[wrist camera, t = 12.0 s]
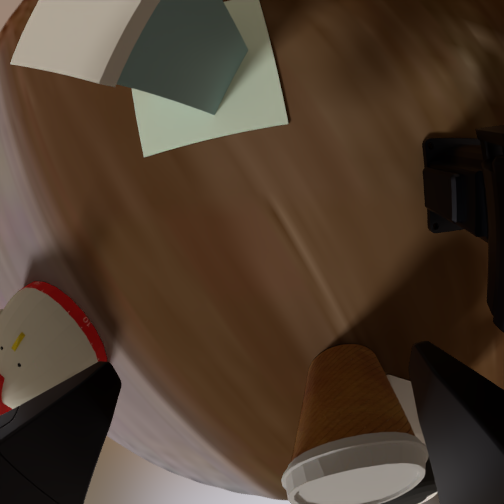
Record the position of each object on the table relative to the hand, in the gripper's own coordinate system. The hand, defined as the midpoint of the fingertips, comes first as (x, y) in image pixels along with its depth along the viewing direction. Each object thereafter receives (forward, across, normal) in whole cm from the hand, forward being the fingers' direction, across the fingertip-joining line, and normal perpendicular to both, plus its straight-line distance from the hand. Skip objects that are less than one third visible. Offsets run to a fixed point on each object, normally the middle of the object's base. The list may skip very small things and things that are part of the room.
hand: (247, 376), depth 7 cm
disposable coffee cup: (+13, -4, +13) cm, 19 cm away
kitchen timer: (+13, +26, +8) cm, 30 cm away
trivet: (+13, +3, -12) cm, 18 cm away
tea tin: (+13, +3, -12) cm, 18 cm away
